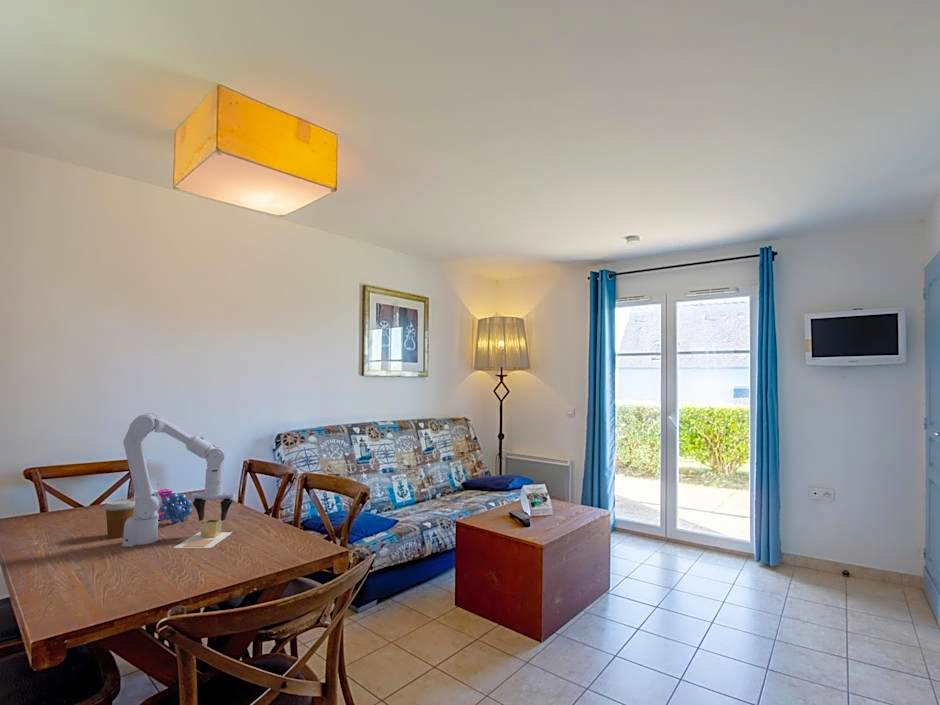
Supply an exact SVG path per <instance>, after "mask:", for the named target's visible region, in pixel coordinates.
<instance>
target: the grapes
mask: <svg viewBox="0 0 940 705" xmlns="http://www.w3.org/2000/svg"><path fill="white" fill-rule="evenodd" d="M163 504H165V505H162V506H160V511H161V512H163V513H164V514H163V518H164V519H165V520H166V521H169V520H170V523H172V524H178V523H179V522H186V521H187V520H188V516H191V515H193V512H194V511H193V509H192V506H193V500H191V499H188V497H187V494H186V493H181V494H178V493H176V492H172V494H171V495H170V498H169V497H165V498H163ZM165 520H164V521H165Z"/></svg>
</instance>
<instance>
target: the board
mask: <svg viewBox="0 0 940 705" xmlns="http://www.w3.org/2000/svg"><path fill="white" fill-rule="evenodd" d="M231 534H233V531H231V532H230V531H227V532H226V531H221V534H220V535H218V536H217V537H201V531H199V532H197V533H196V534H194V535H192V536H190V537H189V538H187V539H185V540H184V541H182V542H180V543H179V544H176V545H175V546H173V549H174V548H175V549H211V548H213V547H215V546H216V545H217V544H219V543H221V541H224V539H226V538H227V537H229V536H230V535H231Z"/></svg>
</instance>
